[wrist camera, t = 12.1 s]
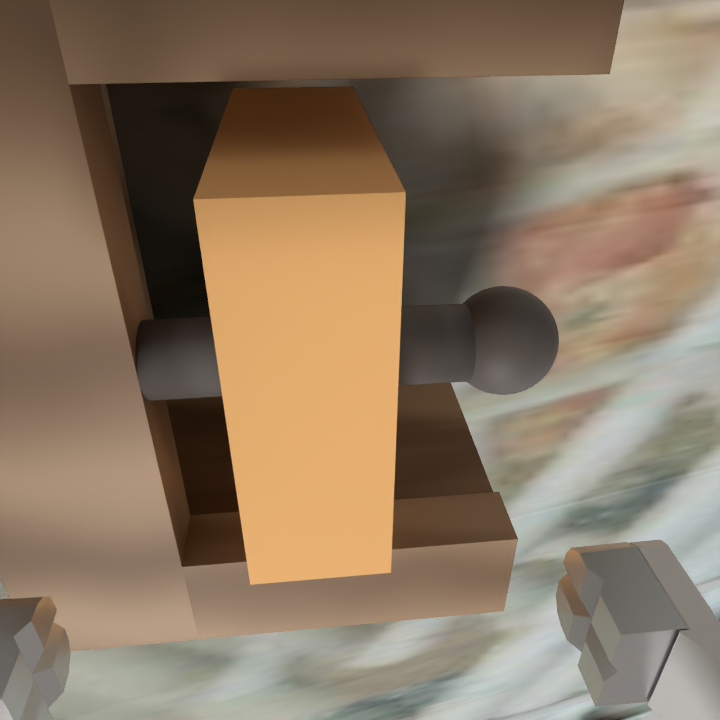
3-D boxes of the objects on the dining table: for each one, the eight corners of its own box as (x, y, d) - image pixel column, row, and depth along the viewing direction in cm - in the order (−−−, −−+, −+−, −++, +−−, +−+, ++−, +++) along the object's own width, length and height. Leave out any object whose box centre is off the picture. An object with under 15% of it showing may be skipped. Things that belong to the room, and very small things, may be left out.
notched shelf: (432, 374, 33) (519, 620, 21) (127, 392, 32) (32, 666, 19) (468, -104, 22) (693, -165, 10) (3, -106, 21) (-385, -181, 9)
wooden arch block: (354, 362, 25) (390, 573, 16) (261, 367, 24) (250, 584, 16) (352, 86, 19) (405, 192, 11) (232, 88, 19) (193, 199, 11)
